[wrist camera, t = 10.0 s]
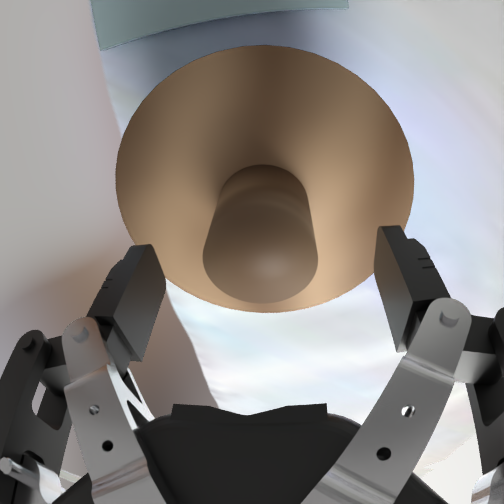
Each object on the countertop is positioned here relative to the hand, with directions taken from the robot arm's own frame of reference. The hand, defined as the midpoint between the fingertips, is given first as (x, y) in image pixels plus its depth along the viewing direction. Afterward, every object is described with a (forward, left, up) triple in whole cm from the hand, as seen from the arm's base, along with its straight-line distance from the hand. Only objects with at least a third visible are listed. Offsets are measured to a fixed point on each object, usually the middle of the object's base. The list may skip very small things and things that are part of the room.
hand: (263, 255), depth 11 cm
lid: (0, 0, -5) cm, 5 cm away
